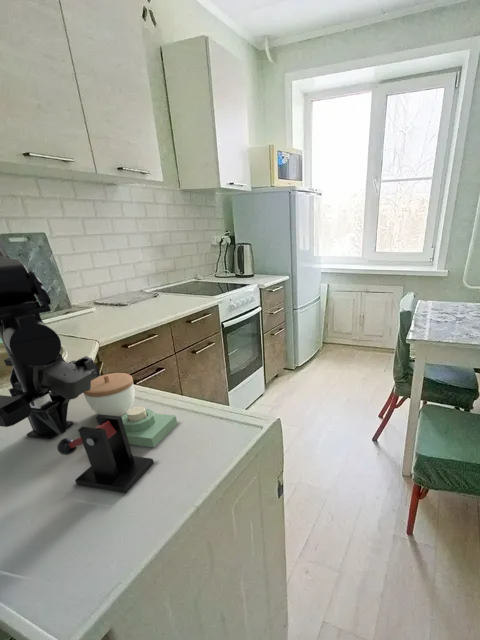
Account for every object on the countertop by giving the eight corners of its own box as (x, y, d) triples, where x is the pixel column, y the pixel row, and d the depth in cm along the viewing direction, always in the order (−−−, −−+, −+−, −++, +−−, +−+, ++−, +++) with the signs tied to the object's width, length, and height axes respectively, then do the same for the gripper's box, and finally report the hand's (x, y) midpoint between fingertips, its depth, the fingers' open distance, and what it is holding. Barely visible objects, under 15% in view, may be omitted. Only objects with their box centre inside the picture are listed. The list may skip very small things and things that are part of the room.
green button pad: (103, 441, 73) (98, 424, 71) (131, 419, 81) (126, 403, 79) (153, 447, 70) (149, 430, 68) (177, 423, 78) (174, 408, 76)
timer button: (124, 421, 73) (122, 414, 72) (135, 412, 76) (133, 405, 75) (139, 423, 72) (137, 415, 71) (150, 414, 75) (148, 407, 74)
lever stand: (76, 485, 61) (56, 433, 56) (108, 457, 68) (92, 408, 63) (126, 493, 59) (108, 439, 54) (154, 463, 65) (140, 413, 61)
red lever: (60, 460, 63) (49, 446, 62) (73, 450, 66) (63, 437, 65) (107, 442, 58) (96, 427, 57) (119, 432, 61) (109, 417, 60)
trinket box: (122, 424, 79) (111, 387, 75) (80, 421, 81) (68, 384, 77) (148, 401, 88) (140, 367, 84) (110, 399, 90) (100, 365, 86)
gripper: (14, 376, 45) (55, 472, 52) (113, 332, 61) (134, 410, 68) (-49, 371, 48) (-3, 463, 55) (61, 331, 64) (86, 405, 71)
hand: (61, 432), depth 62 cm, fingers closed
